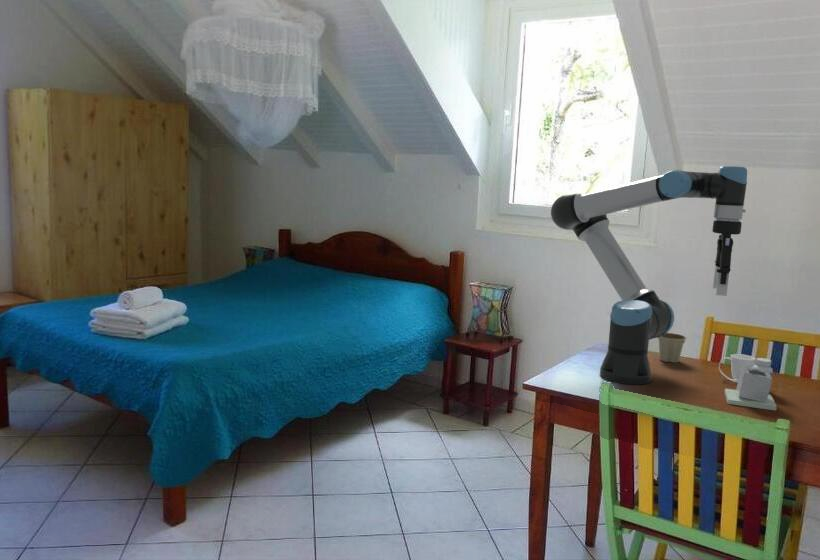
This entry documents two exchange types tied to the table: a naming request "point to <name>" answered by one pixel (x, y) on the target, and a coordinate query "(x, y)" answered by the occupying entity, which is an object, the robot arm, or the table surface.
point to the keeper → (736, 400)
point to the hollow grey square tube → (754, 385)
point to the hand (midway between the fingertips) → (719, 291)
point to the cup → (738, 365)
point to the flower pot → (670, 347)
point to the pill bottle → (763, 365)
